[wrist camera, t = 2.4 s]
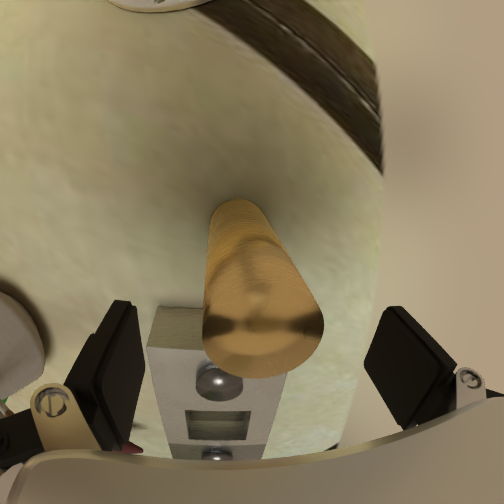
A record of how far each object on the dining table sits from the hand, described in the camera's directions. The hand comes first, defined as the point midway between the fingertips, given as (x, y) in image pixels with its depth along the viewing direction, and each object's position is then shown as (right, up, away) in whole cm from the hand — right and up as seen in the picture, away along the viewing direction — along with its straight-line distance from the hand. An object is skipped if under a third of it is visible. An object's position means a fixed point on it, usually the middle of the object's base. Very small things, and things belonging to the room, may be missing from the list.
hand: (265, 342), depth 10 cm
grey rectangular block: (-4, -11, +16) cm, 20 cm away
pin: (-2, +5, +10) cm, 11 cm away
